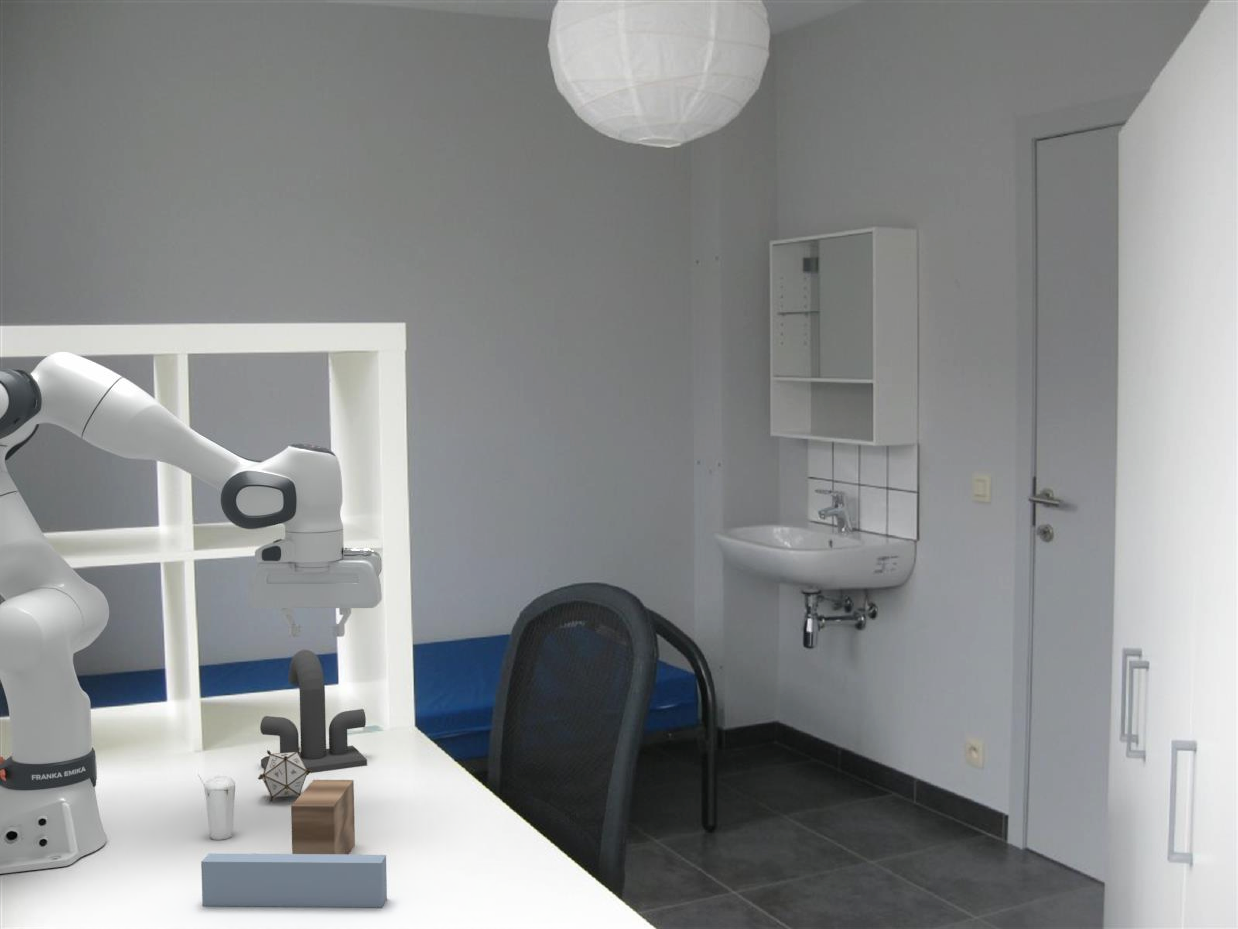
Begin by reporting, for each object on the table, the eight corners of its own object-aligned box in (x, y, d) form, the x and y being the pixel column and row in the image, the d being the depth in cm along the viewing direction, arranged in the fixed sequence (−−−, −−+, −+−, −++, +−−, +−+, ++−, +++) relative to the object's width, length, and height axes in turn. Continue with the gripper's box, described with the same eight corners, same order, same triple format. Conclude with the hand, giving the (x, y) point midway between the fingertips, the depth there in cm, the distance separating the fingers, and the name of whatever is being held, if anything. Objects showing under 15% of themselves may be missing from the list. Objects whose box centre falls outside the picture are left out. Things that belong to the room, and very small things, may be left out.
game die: (291, 823, 221) (294, 786, 215) (246, 802, 223) (247, 765, 216) (320, 783, 228) (323, 747, 222) (276, 763, 230) (277, 726, 223)
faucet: (348, 743, 255) (346, 638, 253) (370, 765, 241) (368, 655, 239) (251, 755, 247) (248, 648, 246) (267, 779, 233) (264, 665, 232)
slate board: (386, 898, 180) (386, 854, 180) (382, 907, 177) (381, 863, 177) (210, 897, 181) (208, 853, 181) (202, 905, 178) (201, 861, 178)
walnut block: (335, 876, 189) (333, 806, 188) (292, 875, 189) (291, 806, 188) (354, 845, 201) (353, 780, 200) (315, 845, 201) (313, 779, 200)
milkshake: (199, 834, 206) (197, 770, 205) (235, 829, 207) (233, 766, 207) (201, 844, 201) (199, 778, 201) (238, 839, 203) (236, 774, 202)
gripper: (385, 545, 212) (387, 632, 213) (256, 545, 213) (259, 632, 214) (376, 550, 206) (378, 640, 207) (244, 551, 206) (246, 640, 207)
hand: (316, 636), depth 210 cm, fingers open, 5 cm apart
